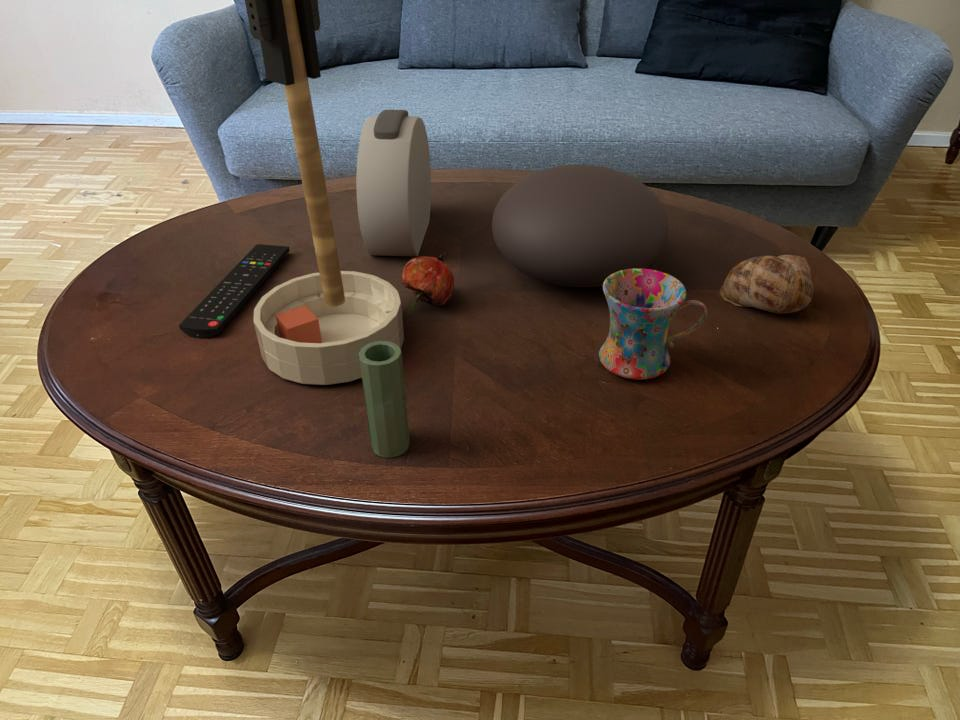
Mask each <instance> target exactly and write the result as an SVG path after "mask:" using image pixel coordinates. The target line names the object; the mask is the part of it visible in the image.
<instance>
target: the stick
mask: <svg viewBox="0 0 960 720" xmlns="http://www.w3.org/2000/svg"><path fill="white" fill-rule="evenodd" d="M282 3H283V9H284V16H285V23H286V29H287V36H288V42H289V49H290V56H291V62H292V69H293V75H294V82H295V84H292V85H288V86H287V85H283V88H284V93H285V99H286V103H287V104H286V105H287V110H288V114H289V119H290V125H291V131H292V136H293V142H294V146H295V151H296V157H297V163H298V167H299V173H300V178H301V183H302V189H303V194H304V200H305V205H306V210H307V214H308V215H307V216H308V221H309V226H310V231H311V236H312V242H313V249H314V252H315V258H316V264H317V268H318V273H319V275H320V280H321V285H322V290H323V296H324V301H325V304H326V305H327V306H331V307H335V306H339V305H342V304H343V303H344V302H345V295H344V289H343V283H342V277H341V272H340V271H341V266H340V260H339V255H338V249H337V244H336V236H335V231H334V225H333V220H332V219H333V217H332V214H331V213H332V212H331V206H330V203H329V196H328V190H327V184H326V183H327V182H326V177H325V172H324V165H323V161H322V154H321V147H320V143H319V136H318V130H317V124H316V119H315V114H314V113H315V112H314V108H313V100H312V95H311V88H310V83H309V78H308V77H307V71H306V65H305V59H304V53H303V47H302V41H301V35H300V30H299V24H298V18H297V12H296V6H295V0H282Z"/></svg>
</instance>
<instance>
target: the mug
mask: <svg viewBox="0 0 960 720" xmlns="http://www.w3.org/2000/svg"><path fill="white" fill-rule="evenodd" d="M602 291H603V294H604V297H605V299H606V302H607V306H608V311H609V329H608V333H607V336H606V339H605V341H604V343H603V344H602V345H601V347H600V349H599V351H598V357H599V361H600V362H601V364H602V366H603V367H604V368H605V369H606V370H607V371H608V372H610V373H612V374H613V375H615V376H618V377H620V378H624V379H630V380H639V381H640V380H641V381H643V380H651V379H655V378H657V377H660V376H661V375H663V374H665V372H667V370H668V369H669V367H670V365H671V356H670V354H669V350H668V346H669V347H670V348H674V343H673V342H672V341H675V340H678V339H682V338H684V337H685V336H688V335H690V334H691V333H693V332H694V331H696V330H697V329H698V328H699V327H700V326H701V325H702V324H703V323H704V321H706V318H707V316H708V308H707V306H706V305H705V303H703V302H702V301H699V300H696V299H689V300H686V299H687V290H686V287H685V285H684V284H683V283H682V282H681V281H680V280H679V279H678V278H676V277H675V276H673V275H671V274H669V273H666V272H663V271H660V270H656V269H651V268H645V269H626V270H621V271H618V272H615V273H613V274H611V275H610V276H608V277H607V278H606V279H605V281H604V283H603V285H602ZM685 300H686V301H685ZM689 306H698V307H700V308H701V309H702V311H703V313H702V315H701V316H700V318H699V319H698V320H697V321H696V322H695V323H694V324H693V325H691V326H690V327H689V328H687V329H686V330H684V331H681V332H679V333H675V334H673V335H670V336H668V334H669V333H668V332H669V329H670V326H671V324H672V321H673V318H675V317H676V316H677V314H678V313H679V312H680V311H681V310H682V309H684V308H685V307H689Z"/></svg>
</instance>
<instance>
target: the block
mask: <svg viewBox="0 0 960 720" xmlns="http://www.w3.org/2000/svg"><path fill="white" fill-rule="evenodd" d="M275 316H276V320H277V325H278V330H279V335H280V338H283V339H287V340H291V341H295V342H300V343H322V338H321V332H320V326H319V320H318V318H317V317H316V316H315V315H314V314H313V313H312V312H311V311H310V310H309V309H308V308H307V307H306V305H304V306H301V307H298V308H295V309H292V310H289V311H286V312H283V313H280V314H277V315H275Z"/></svg>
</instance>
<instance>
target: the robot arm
mask: <svg viewBox="0 0 960 720" xmlns="http://www.w3.org/2000/svg"><path fill="white" fill-rule="evenodd" d="M244 3H245V9H246V15H247V18H248V19H247V20H248V24H249V25H248V26H249V32H250V34H251V36H252V38H253V39H254V40H258V41H259V42H260V48H261V53H262V59H263V66H264V71H265V78H266V80H267V81H269V82H273V83H276V84H279V85H283V86H284V85H287V86H288V85H292V84H295V82H294V75H293V69H292V62H291V56H290V49H289V42H288V36H287V29H286V23H285V16H284V9H283V3H282V0H244ZM295 6H296V12H297V18H298V24H299V30H300V35H301V41H302V47H303V53H304V59H305V65H306V71H307V77H308V79H313V80H315V79H319V78H322V73H321V67H320V59H319V53H318V45H317V44H318V43H317V37H316V32H317V31H320V30H321V29H320V28H321V16H320V9H319V2H318V0H295Z"/></svg>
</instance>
